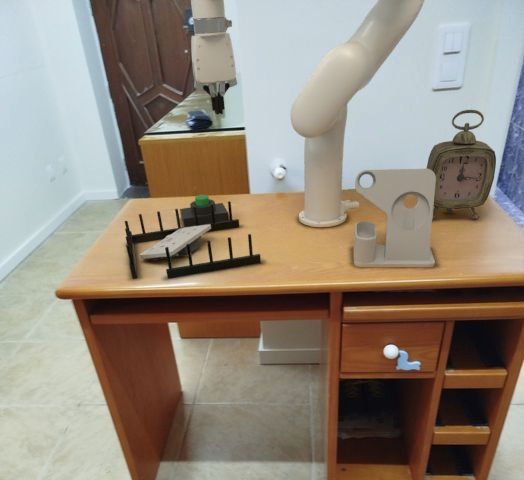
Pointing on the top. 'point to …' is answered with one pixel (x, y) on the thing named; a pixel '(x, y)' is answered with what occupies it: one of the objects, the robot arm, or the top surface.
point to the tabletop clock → (462, 170)
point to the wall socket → (176, 243)
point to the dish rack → (190, 268)
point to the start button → (202, 200)
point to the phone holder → (397, 219)
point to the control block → (203, 214)
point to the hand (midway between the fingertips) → (218, 113)
